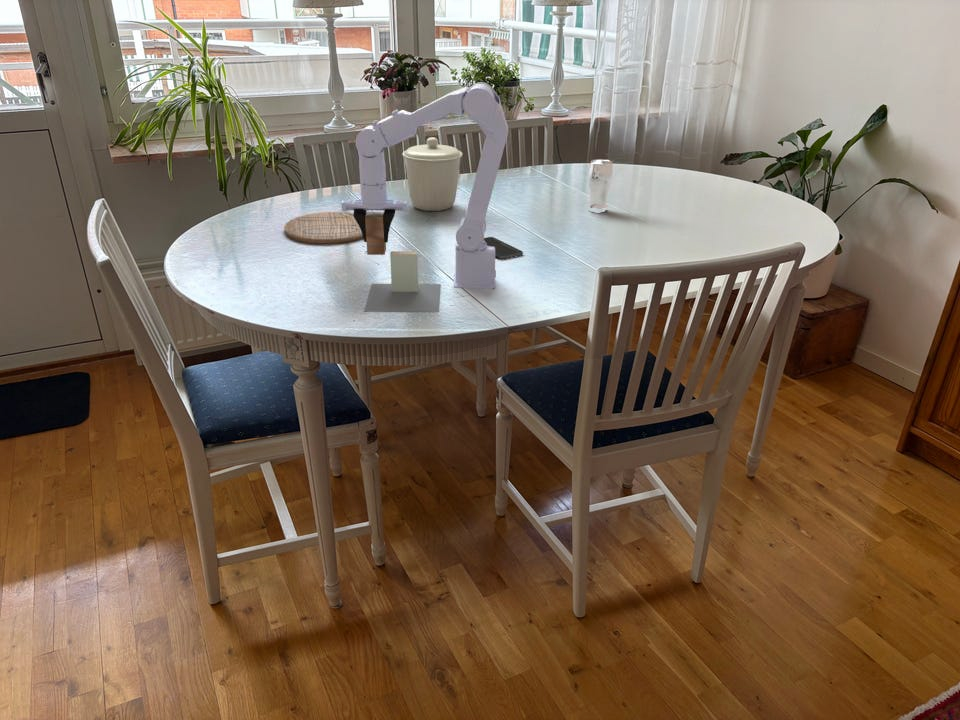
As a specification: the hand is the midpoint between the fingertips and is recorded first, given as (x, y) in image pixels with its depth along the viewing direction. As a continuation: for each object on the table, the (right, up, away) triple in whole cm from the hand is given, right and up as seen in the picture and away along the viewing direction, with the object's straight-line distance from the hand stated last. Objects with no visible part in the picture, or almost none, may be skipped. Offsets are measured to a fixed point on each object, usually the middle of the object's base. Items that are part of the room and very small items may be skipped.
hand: (376, 241), depth 171 cm
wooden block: (0, -2, +1) cm, 3 cm away
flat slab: (+7, -12, -3) cm, 14 cm away
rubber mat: (+7, -14, -6) cm, 17 cm away
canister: (+9, +20, +59) cm, 63 cm away
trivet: (-18, +9, +37) cm, 42 cm away
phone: (+28, +1, +25) cm, 38 cm away
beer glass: (+60, +19, +58) cm, 86 cm away
